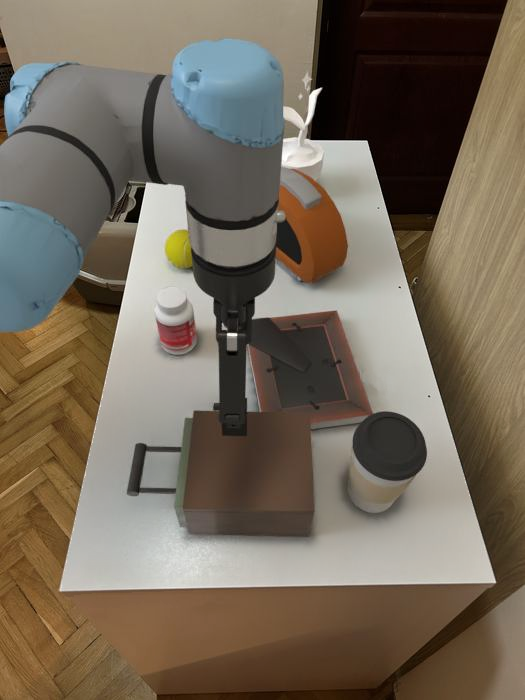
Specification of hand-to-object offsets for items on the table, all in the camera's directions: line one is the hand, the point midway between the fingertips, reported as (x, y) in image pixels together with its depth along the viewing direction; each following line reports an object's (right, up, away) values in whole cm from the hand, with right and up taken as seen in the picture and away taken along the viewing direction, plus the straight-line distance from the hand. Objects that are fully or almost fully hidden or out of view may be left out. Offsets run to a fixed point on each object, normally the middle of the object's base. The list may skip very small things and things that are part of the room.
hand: (236, 382), depth 63 cm
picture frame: (+10, 0, +24) cm, 26 cm away
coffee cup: (+18, -16, +12) cm, 27 cm away
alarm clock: (+8, +23, +43) cm, 50 cm away
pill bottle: (-11, +5, +28) cm, 31 cm away
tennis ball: (-12, +21, +41) cm, 47 cm away
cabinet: (+1, -15, +12) cm, 19 cm away
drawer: (-4, -15, +11) cm, 19 cm away
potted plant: (+9, +39, +56) cm, 69 cm away
